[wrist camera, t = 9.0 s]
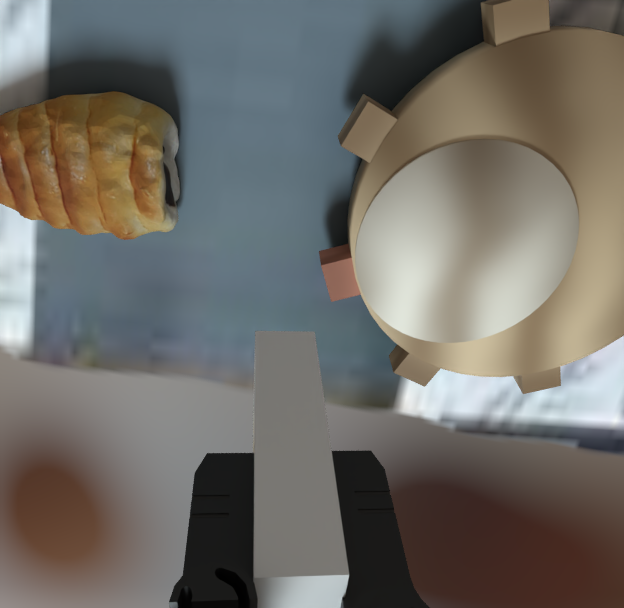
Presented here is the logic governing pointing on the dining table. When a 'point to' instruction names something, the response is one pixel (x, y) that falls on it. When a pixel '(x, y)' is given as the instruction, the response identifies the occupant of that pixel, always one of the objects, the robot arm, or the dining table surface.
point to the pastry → (91, 164)
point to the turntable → (493, 204)
